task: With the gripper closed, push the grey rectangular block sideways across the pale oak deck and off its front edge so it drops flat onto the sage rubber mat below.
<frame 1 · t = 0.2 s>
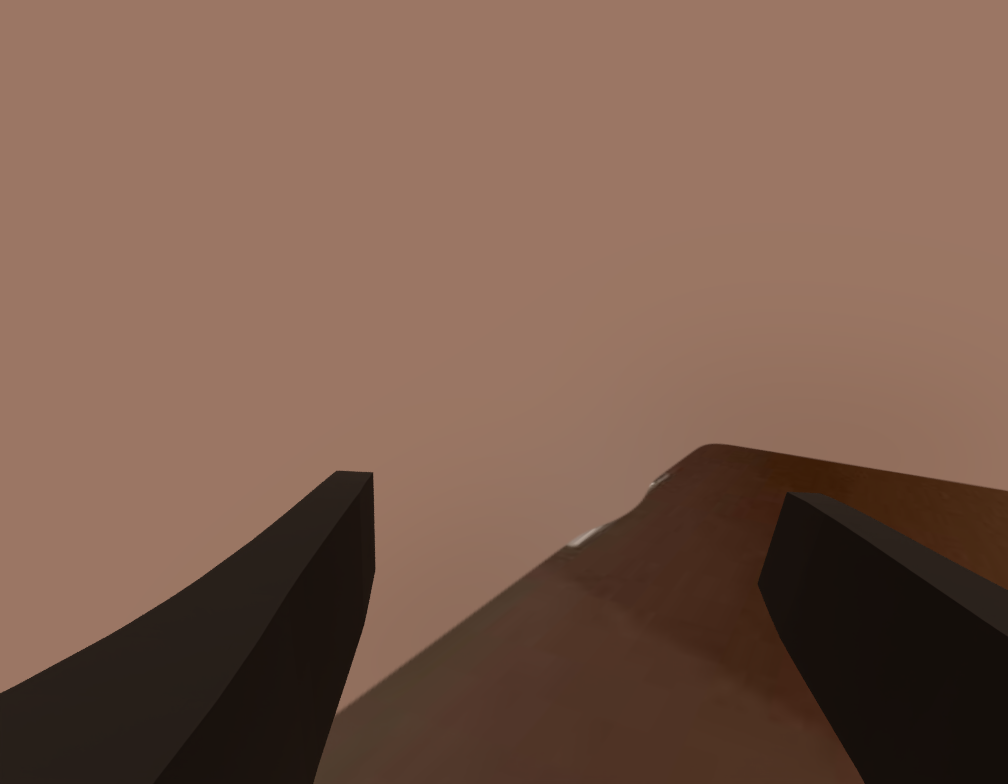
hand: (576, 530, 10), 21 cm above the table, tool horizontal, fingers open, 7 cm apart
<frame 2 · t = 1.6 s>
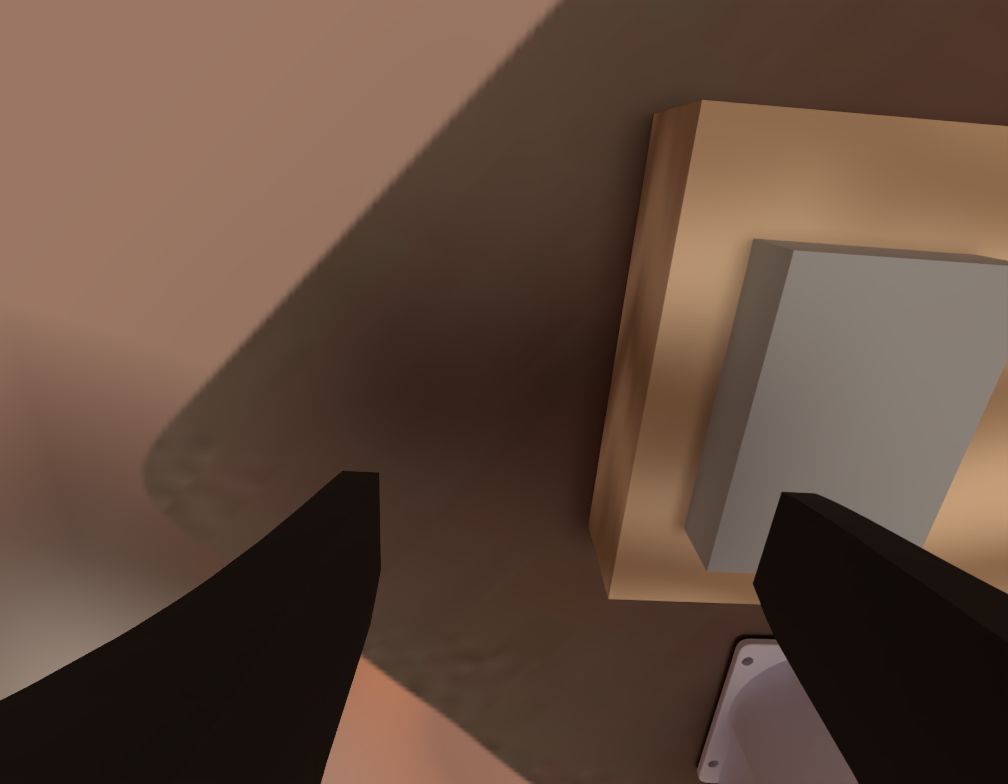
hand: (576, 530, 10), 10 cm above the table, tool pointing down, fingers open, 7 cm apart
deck: (808, 362, 20), on the table
grey rectangular block: (815, 405, 16), point 4 cm above the table, touching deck
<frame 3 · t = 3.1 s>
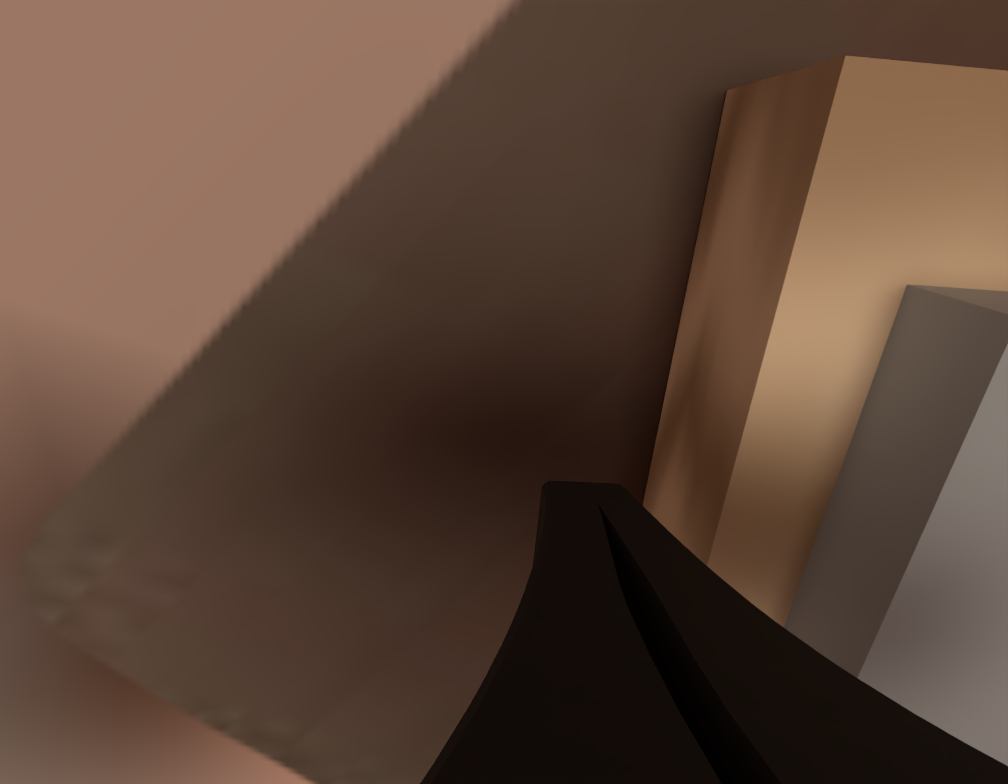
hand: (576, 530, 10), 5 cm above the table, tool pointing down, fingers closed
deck: (920, 435, 14), on the table
grey rectangular block: (972, 525, 11), point 4 cm above the table, touching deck
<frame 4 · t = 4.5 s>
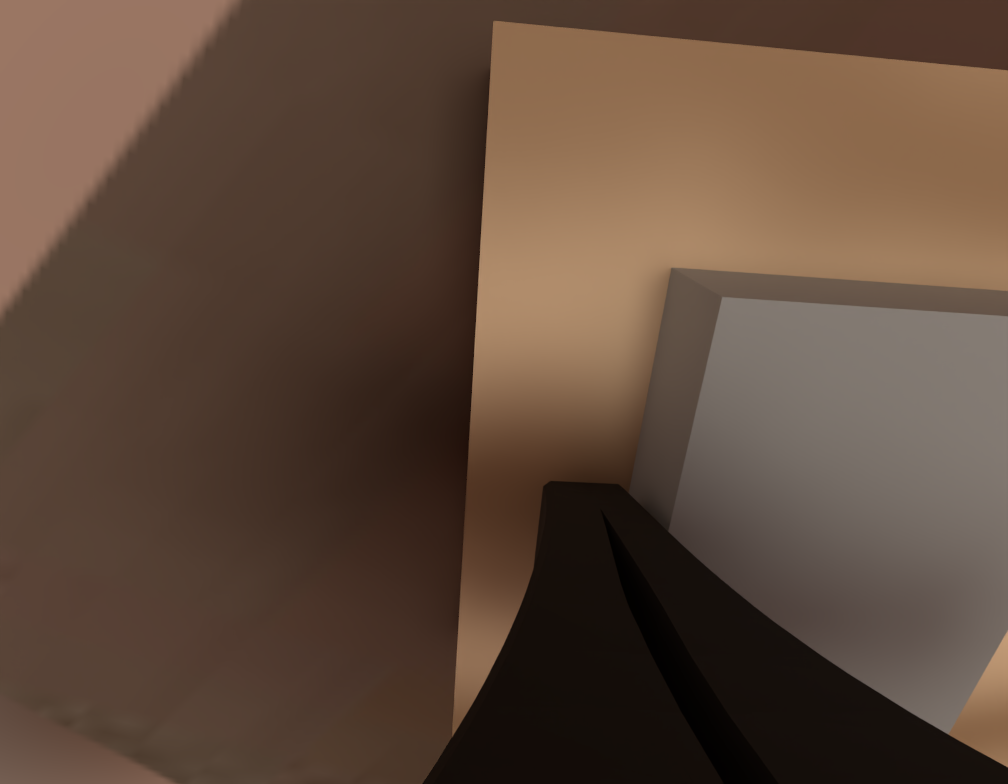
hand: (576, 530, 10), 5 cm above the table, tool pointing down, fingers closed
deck: (742, 425, 14), on the table
grey rectangular block: (780, 516, 10), point 4 cm above the table, touching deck, gripper
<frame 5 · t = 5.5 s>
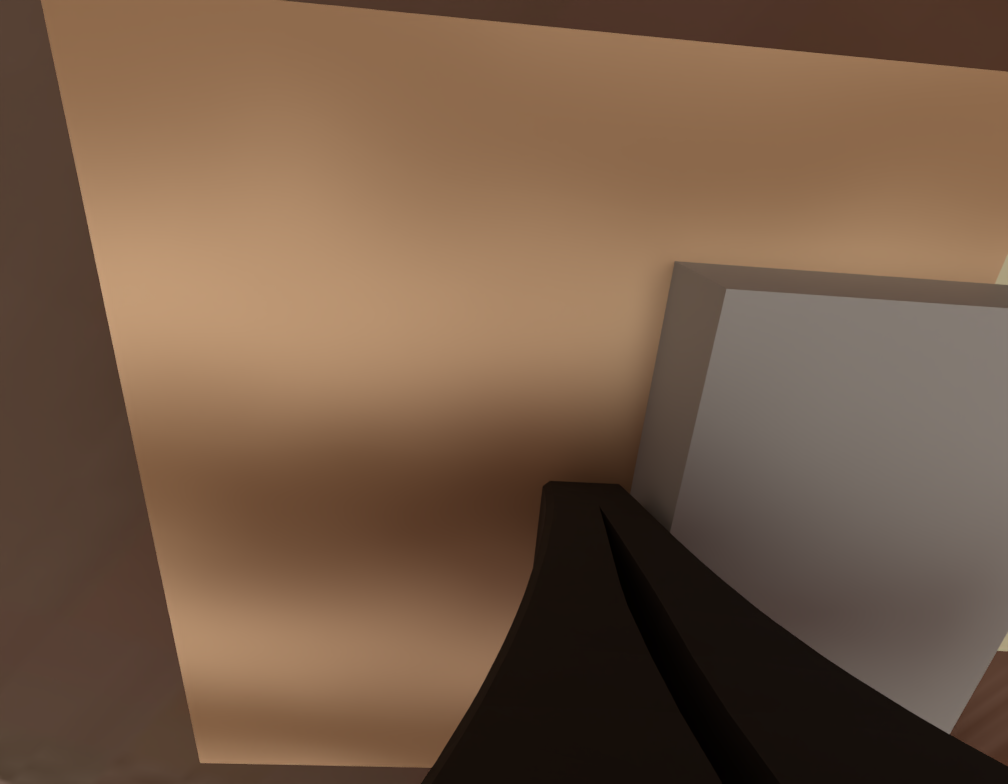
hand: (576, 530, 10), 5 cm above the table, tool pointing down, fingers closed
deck: (520, 413, 14), on the table
grey rectangular block: (783, 512, 10), point 4 cm above the table, touching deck, gripper
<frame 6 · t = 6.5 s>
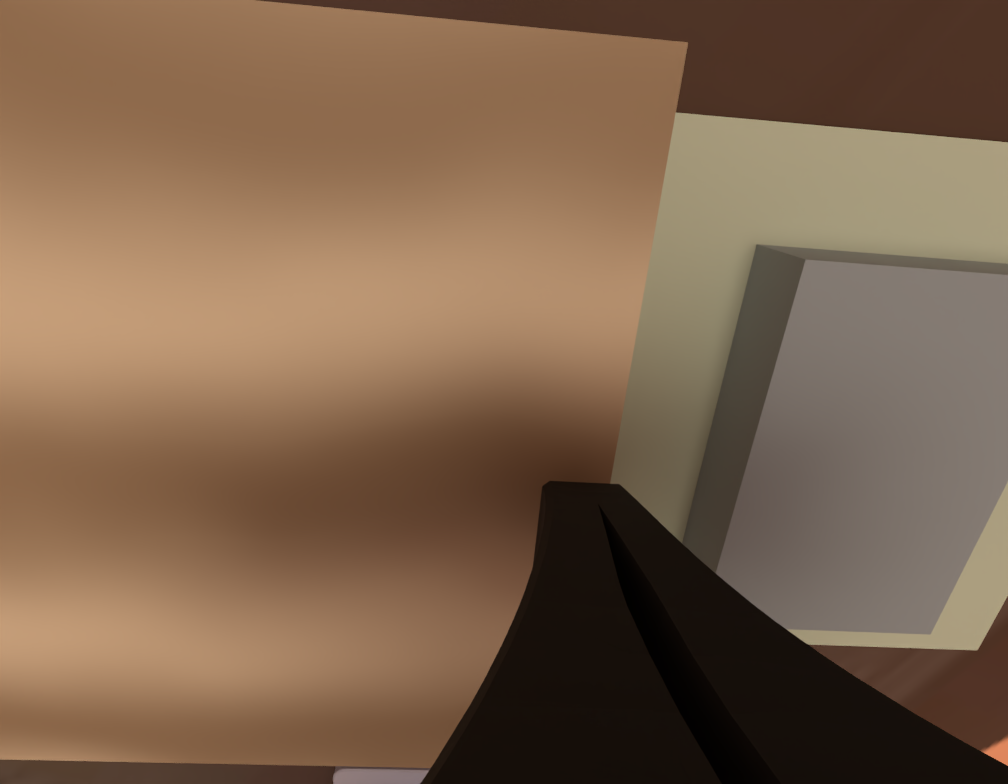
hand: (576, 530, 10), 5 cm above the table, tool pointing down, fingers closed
mat: (838, 432, 14), on the table
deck: (294, 401, 14), on the table
grey rectangular block: (877, 476, 12), point 2 cm above the table, tilted 180°, touching mat
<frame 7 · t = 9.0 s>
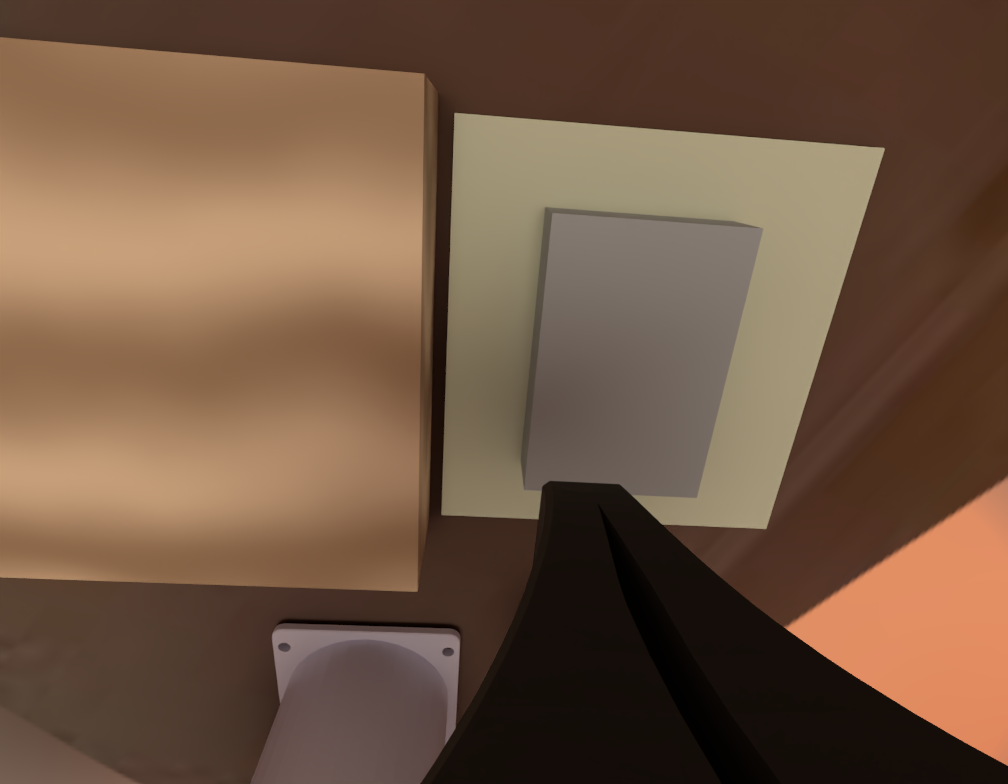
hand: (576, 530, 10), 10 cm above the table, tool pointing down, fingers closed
mat: (632, 350, 19), on the table
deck: (225, 326, 19), on the table
grey rectangular block: (632, 371, 17), point 2 cm above the table, tilted 180°, touching mat
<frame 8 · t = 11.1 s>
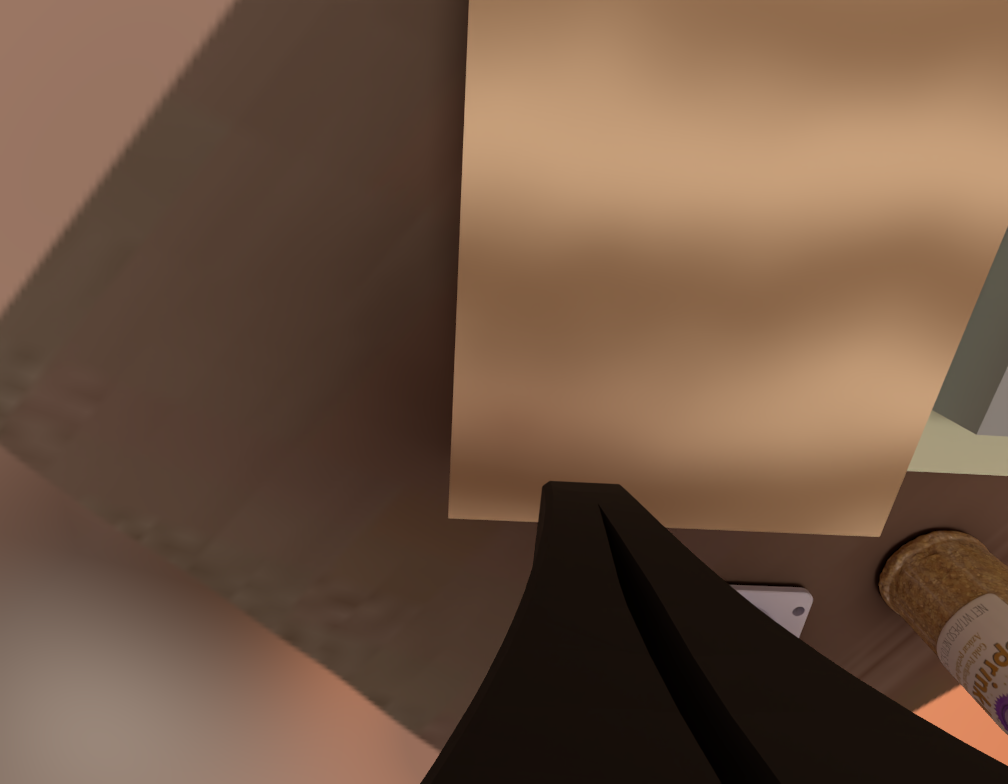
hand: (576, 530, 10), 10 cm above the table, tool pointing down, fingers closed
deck: (674, 267, 18), on the table
sprinkles bottle: (924, 566, 24), on the table
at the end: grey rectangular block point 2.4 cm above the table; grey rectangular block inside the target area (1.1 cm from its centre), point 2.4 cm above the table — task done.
